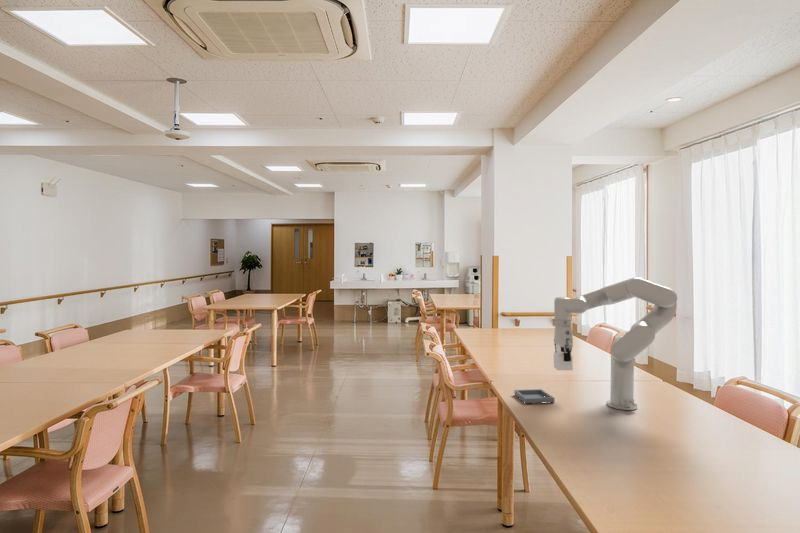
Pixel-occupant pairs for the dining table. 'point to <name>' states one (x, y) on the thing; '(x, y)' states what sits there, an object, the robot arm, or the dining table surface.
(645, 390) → the dining table surface
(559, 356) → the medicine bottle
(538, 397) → the tray
